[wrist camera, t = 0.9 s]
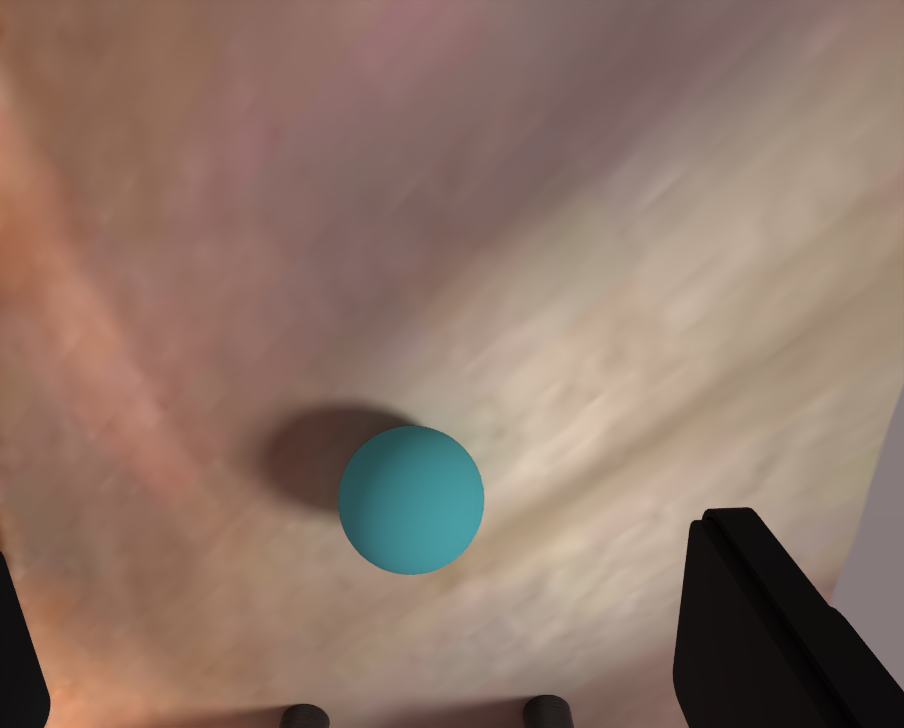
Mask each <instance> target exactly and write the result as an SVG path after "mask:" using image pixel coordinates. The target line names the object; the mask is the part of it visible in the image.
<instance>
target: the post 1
mask: <svg viewBox="0 0 904 728" xmlns="http://www.w3.org/2000/svg"><path fill="white" fill-rule="evenodd" d="M329 724H330V721H329V717H328V716H327V714H326V713H325V712H324V711H323V710H322V709H320V708H318V707H316V706H313V705H306V704H302V705H296V706H293V707H291V708H289V709H288V710H286V711H285V713H284V714H283V716H282V719H281V723H280V727H279V728H329Z"/></svg>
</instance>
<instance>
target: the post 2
mask: <svg viewBox="0 0 904 728" xmlns="http://www.w3.org/2000/svg"><path fill="white" fill-rule="evenodd" d="M523 721H524V728H574V725H573V720H572V716H571V711H570V707H569V705H568V703H567V702H566V701H565V700H563V699H562V698H560V697H557V696H551V695H545V696H540V697H537V698H534V699H533V700H531V701H530V702H528V703H527V705H526V706H525V707H524V710H523Z"/></svg>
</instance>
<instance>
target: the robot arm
mask: <svg viewBox="0 0 904 728" xmlns="http://www.w3.org/2000/svg"><path fill="white" fill-rule="evenodd" d="M673 682H674V688H675V692H676V696H677V699H678V702H679V704H680V707H681V709H682V712H683V714H684V716H685V719H686V721H687V724H688V726H689V728H904V692H903V690H902V689H901V688H900V686H899V685H898V684H897V682H896V681H895V680H894V679H893V677H892V676H891V675H890V674H889V672H888V671H887V670H886V669H885V667H884V666H883V665H882V664H881V662H880V661H879V660H878V659H877V657H876V656H875V655H874V654H873V652H872V651H871V650H870V649H869V647H868V646H867V645H866V644H865V642H864V641H863V640H862V639H861V637H860V636H859V635H858V634H857V632H856V631H855V630H854V628H853V627H852V626H851V625H850V623H849V622H848V621H847V620H846V618H845V617H844V616H842V614H841V613H839V612H838V611H837V610H836V609H835V608H833V607H831V606H829V605H828V604H827V602H826V601H825V600H824V599H823V597H822V596H821V595H820V594H819V592H818V591H817V590H816V588H815V587H814V586H813V585H812V583H811V582H810V581H809V579H808V578H807V577H806V576H805V574H804V573H803V572H802V571H801V569H800V568H799V567H798V565H797V564H796V563H795V562H794V560H793V559H792V558H791V557H790V555H789V554H788V553H787V551H786V550H785V549H784V548H783V546H782V545H781V544H780V542H779V541H778V540H777V539H776V537H775V536H774V535H773V534H772V532H771V531H770V530H769V528H768V527H767V526H766V525H765V523H764V522H763V521H762V520H761V518H760V517H759V516H758V514H757V513H756V512H755V511H754V510H753V509H752V508H748V507H742V508H717V509H707V510H706V511H705V512H704V514H703V516H702V520H694V521H692V523H691V525H690V529H689V537H688V546H687V554H686V562H685V571H684V579H683V588H682V596H681V605H680V613H679V622H678V630H677V638H676V647H675V655H674V664H673ZM49 712H50V696H49V692H48V689H47V686H46V683H45V680H44V677H43V674H42V671H41V668H40V665H39V662H38V659H37V655H36V652H35V649H34V646H33V643H32V640H31V637H30V634H29V631H28V628H27V625H26V622H25V619H24V616H23V613H22V610H21V607H20V604H19V600H18V597H17V594H16V591H15V588H14V585H13V582H12V579H11V576H10V573H9V570H8V567H7V564H6V561H5V558H4V556H3V554H2V552H1V551H0V728H44V726H45V724H46V722H47V719H48V716H49Z"/></svg>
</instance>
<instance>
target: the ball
mask: <svg viewBox="0 0 904 728" xmlns="http://www.w3.org/2000/svg"><path fill="white" fill-rule="evenodd" d="M338 509H339V516H340V521H341V524H342V526H343V529H344V532H345V534H346V536H347V538H348V540H349V541H350V542H351V544H352V545H353V547H354V548H355V549H356V550H357V551H358V553H359V554H360V555H361V556H363V557H364V558H365V559H366V560H368V561H369V562H371V563H372V564H374V565H375V566H377V567H379V568H381V569H383V570H386V571H389V572H393V573H397V574H405V575H415V574H423V573H428V572H431V571H434V570H437V569H439V568H442V567H443V566H445V565H447V564H449V563H450V562H452V561H453V560H455V559H456V558H457V557H458V556H459V555H460V554H461V553H462V552H463V551H464V550H465V549H466V548H467V547H468V545H469V544H470V543H471V542H472V540H473V538H474V536H475V535H476V533H477V531H478V528H479V526H480V523H481V519H482V515H483V510H484V488H483V484H482V480H481V476H480V473H479V471H478V468H477V466H476V464H475V463H474V461H473V459H472V457H471V456H470V455H469V453H468V452H467V451H466V450H465V449H464V448H463V447H462V446H461V445H460V444H459V443H458V442H457V441H455V440H454V439H453V438H451V437H450V436H448V435H446V434H444V433H442V432H440V431H437V430H435V429H431V428H427V427H422V426H402V427H397V428H392V429H389V430H386V431H384V432H382V433H379V434H377V435H376V436H374V437H373V438H371V439H369V440H368V441H367V442H366V443H365V444H363V445H362V446H361V447H360V448H359V449H358V450H357V451H356V453H355V454H354V455H353V457H352V458H351V460H350V461H349V463H348V464H347V466H346V468H345V470H344V473H343V475H342V478H341V482H340V486H339V494H338Z"/></svg>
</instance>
